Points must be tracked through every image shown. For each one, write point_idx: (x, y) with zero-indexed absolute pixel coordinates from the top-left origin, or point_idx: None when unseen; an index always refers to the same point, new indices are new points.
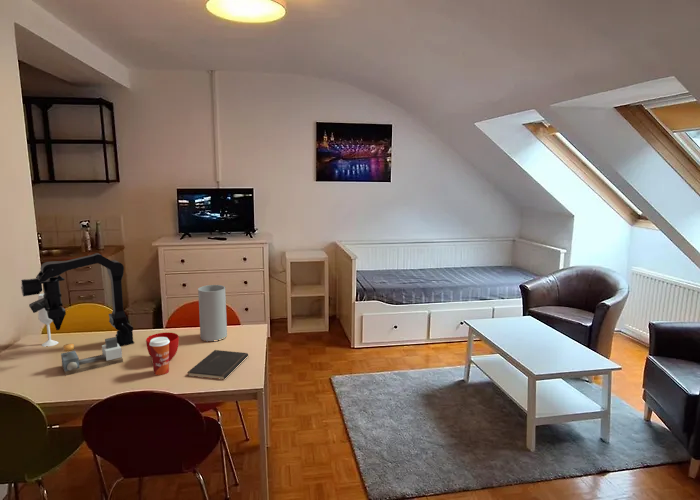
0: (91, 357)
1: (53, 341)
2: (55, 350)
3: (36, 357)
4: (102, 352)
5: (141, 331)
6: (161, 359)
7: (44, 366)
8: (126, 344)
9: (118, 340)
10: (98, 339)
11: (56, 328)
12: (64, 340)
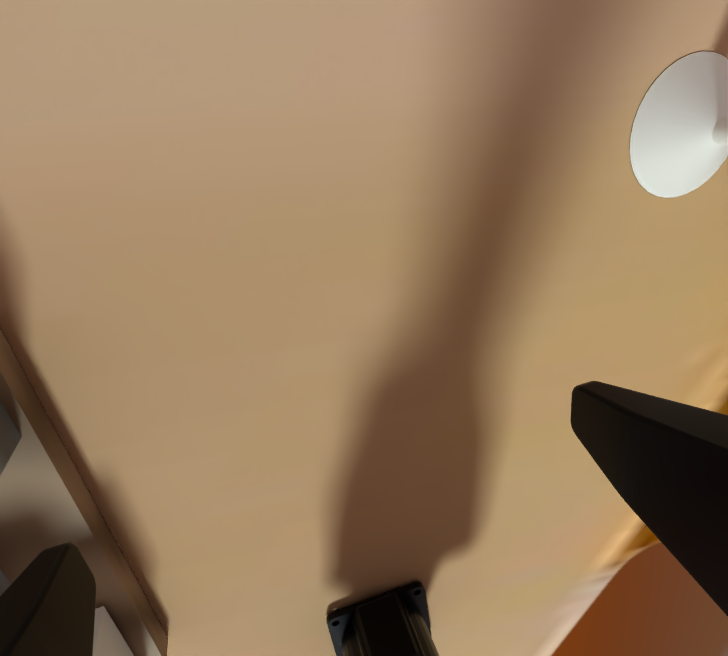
0: (74, 538)
1: (686, 163)
2: (495, 191)
3: (395, 16)
4: (96, 626)
5: (534, 648)
6: None
7: (59, 124)
8: (334, 646)
9: (363, 640)
10: (549, 464)
11: (4, 604)
12: (685, 239)
